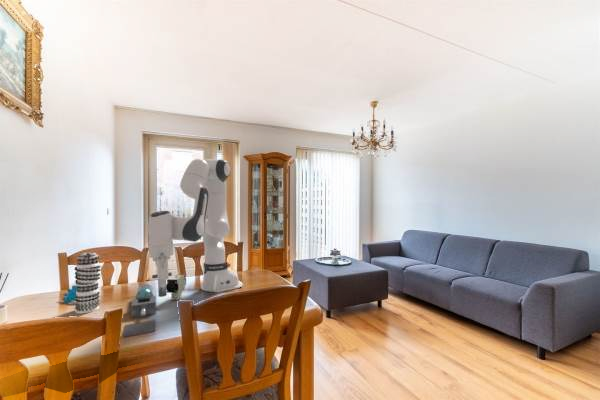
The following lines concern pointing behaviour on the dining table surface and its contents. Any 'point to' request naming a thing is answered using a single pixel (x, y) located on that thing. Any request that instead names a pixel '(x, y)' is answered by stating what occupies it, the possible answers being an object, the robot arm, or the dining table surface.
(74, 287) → the gear
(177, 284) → the pneumatic valve
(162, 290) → the chuck key
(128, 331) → the mat
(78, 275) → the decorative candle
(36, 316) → the dining table surface
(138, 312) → the grey base teal knob
